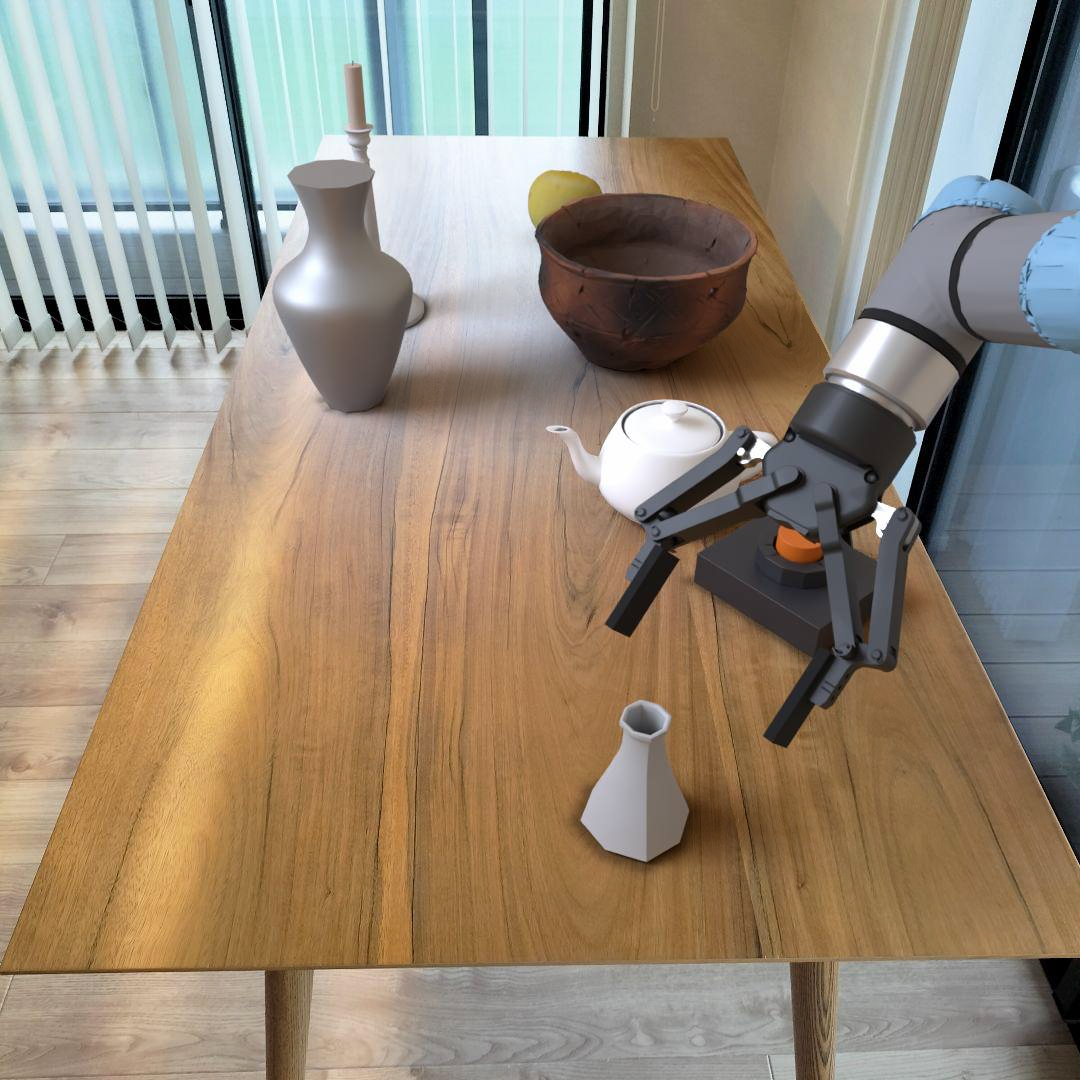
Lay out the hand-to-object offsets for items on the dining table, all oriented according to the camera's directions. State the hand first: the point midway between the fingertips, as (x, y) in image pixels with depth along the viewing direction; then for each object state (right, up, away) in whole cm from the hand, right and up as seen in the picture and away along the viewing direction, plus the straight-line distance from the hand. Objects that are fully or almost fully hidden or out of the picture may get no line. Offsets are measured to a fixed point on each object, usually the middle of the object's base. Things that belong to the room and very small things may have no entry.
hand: (691, 684), depth 71 cm
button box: (+12, +5, +24) cm, 27 cm away
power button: (+12, +9, +21) cm, 26 cm away
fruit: (-6, +53, +86) cm, 102 cm away
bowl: (+2, +32, +59) cm, 67 cm away
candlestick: (-31, +38, +67) cm, 83 cm away
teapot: (+1, +13, +35) cm, 37 cm away
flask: (-3, -10, +4) cm, 11 cm away
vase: (-31, +25, +49) cm, 63 cm away
